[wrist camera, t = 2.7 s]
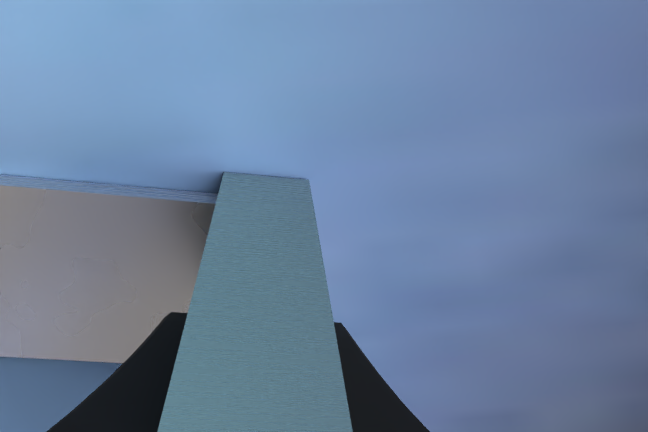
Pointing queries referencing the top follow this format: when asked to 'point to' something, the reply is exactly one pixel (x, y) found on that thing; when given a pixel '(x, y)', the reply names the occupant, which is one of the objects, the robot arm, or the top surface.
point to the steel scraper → (180, 294)
